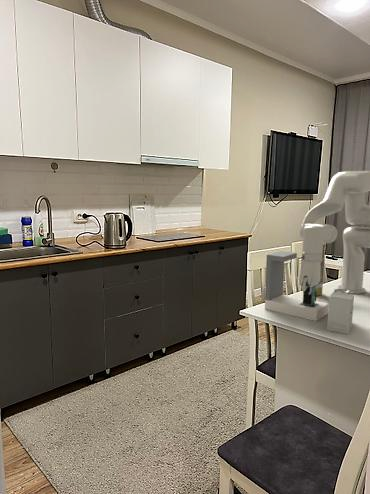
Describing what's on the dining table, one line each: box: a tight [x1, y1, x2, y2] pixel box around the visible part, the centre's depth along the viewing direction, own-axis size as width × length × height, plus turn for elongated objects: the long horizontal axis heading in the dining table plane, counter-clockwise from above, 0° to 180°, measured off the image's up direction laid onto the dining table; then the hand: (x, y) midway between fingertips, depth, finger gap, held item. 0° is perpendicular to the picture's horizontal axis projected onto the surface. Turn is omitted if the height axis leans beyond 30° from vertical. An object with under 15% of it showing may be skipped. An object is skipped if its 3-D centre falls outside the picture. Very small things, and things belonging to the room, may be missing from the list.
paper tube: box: [316, 243, 326, 297], centre depth 176 cm, size 7×7×25 cm
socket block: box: [264, 250, 329, 322], centre depth 151 cm, size 12×22×23 cm, turn 49°
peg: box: [304, 285, 316, 307], centre depth 148 cm, size 4×4×10 cm
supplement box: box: [326, 291, 355, 335], centre depth 132 cm, size 7×7×13 cm
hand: (309, 301), depth 149 cm, fingers closed on peg, 4 cm apart
